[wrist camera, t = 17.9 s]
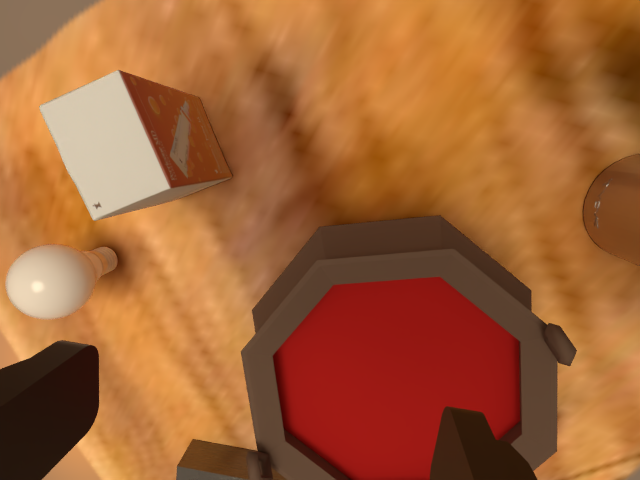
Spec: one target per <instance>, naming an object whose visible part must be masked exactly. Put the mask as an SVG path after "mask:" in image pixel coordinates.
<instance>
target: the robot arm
mask: <svg viewBox="0 0 640 480" xmlns="http://www.w3.org/2000/svg"><path fill="white" fill-rule="evenodd" d="M583 213H584V223H585V226H586V229H587V232H588V233H589V235H590V237H591V238H592V240H593V241H594V242H595V243H596V244H597V245H598V246H599V247H600V248H602V249H603V250H605V251H607V252H608V253H610V254H613V255H615V256H617V257H620V258H622V259H625V260H627V261H629V262H632V263H634V264H636V265H638V266H640V154H637V155H633V156H629V157H626V158H624V159H622V160H619V161H617V162H615V163H614V164H612V165H611V166H609V167H608V168H607V169H605V170H604V171H603V172H602V173H601V174H600V175H599V176H598V177H597V178H596V180H595V181H594V183H593V184H592V186H591V187H590V189H589V191H588V194H587V196H586V199H585V204H584V210H583ZM98 408H99V354H98V350H97V348H96V347H95V346H92V345H87V344H81V343H75V342H69V341H63V340H62V341H57V342H55V343H53V344H52V345H50V346H49V347H47V348H45V349H44V350H42V351H41V352H39V353H37V354H36V355H34V356H33V357H31V358H29V359H26V360H23V361H21V362H18V363H16V364H13V365H10V366H7V367H5V368H2V369H0V480H42V478H44V477H45V476H46V475H47V474H48V472H50V470H51V469H52V468H53V467H54V466H55V465H56V464H57V463H58V462H59V461H60V460H61V459H62V458H63V457H64V456H65V455H66V454H67V453H68V452H69V451H70V450H71V449H72V448H73V447H74V446H75V445H76V444H77V443H78V442H79V441H80V440H81V439H82V438H83V437H84V436H85V435H86V433H87V432H88V431H89V430H90V428H91V426H92V425H93V423H94V421H95V418H96V416H97V412H98ZM430 480H537V478H536V476H535V474H534V472H533V470H532V468H531V467H530V465H529V463H528V462H527V461H526V460H525V459H524V458H523V456H522V455H521V454H520V453H519V452H518V451H517V450H516V449H515V448H514V447H513V446H512V445H511V444H510V443H509V442H506V441H501V440H496V439H495V437H494V435H493V433H492V430H491V428H490V426H489V424H488V422H487V419H486V417H485V415H484V414H483V413H482V412H479V411H473V410H467V409H461V408H455V407H449V406H446V407H445V408H444V410H443V413H442V417H441V421H440V426H439V431H438V435H437V440H436V445H435V449H434V454H433V458H432V463H431V469H430Z"/></svg>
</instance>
